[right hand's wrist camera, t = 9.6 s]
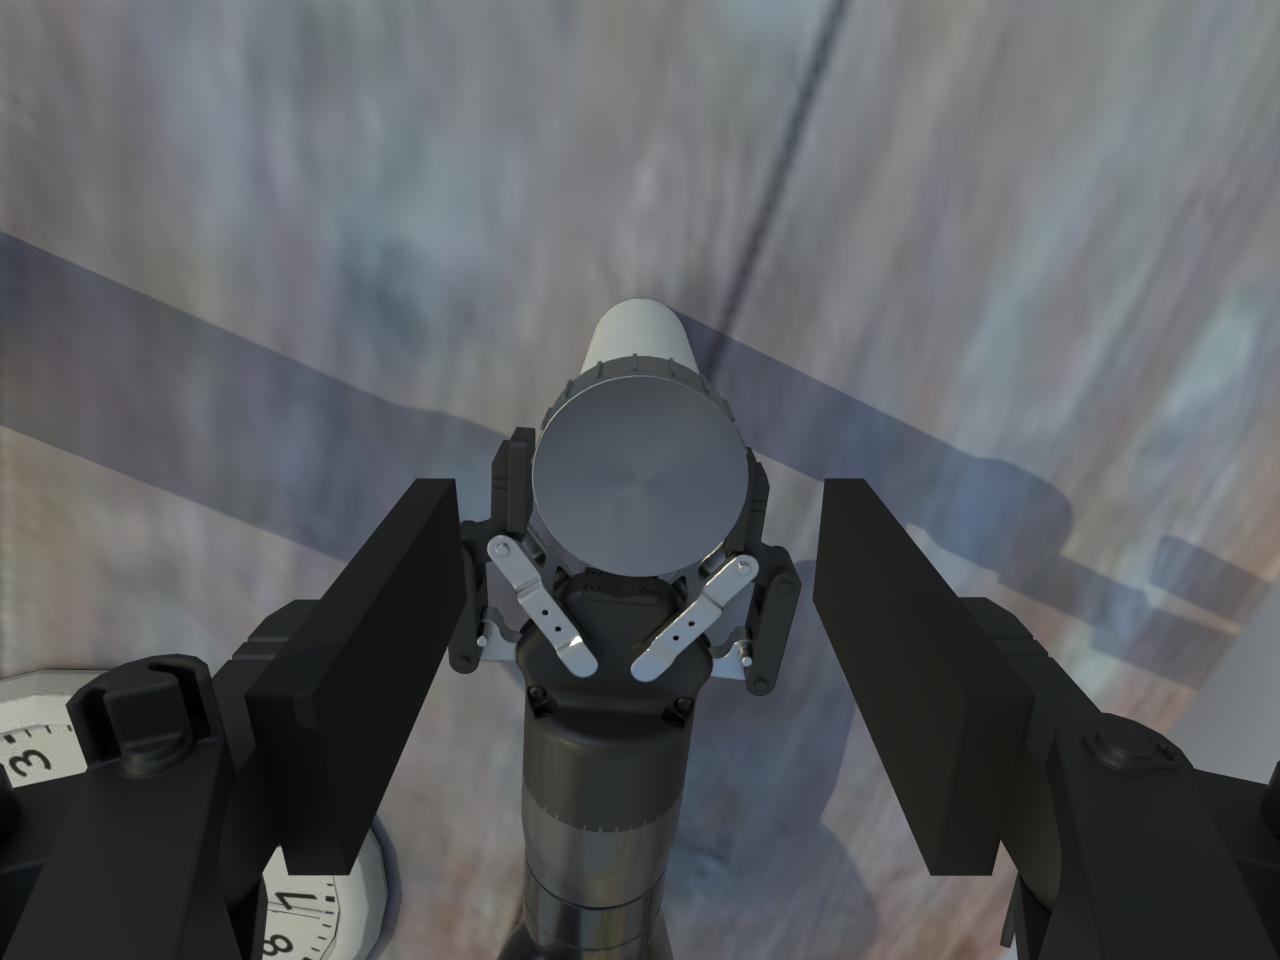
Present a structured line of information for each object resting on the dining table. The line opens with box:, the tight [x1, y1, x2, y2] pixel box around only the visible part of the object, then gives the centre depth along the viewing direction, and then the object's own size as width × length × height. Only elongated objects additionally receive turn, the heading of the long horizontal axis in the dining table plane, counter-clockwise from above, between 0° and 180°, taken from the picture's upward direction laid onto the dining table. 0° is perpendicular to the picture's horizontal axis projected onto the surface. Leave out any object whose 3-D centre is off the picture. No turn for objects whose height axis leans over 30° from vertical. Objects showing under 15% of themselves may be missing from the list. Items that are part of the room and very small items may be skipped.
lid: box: [531, 353, 749, 577], centre depth 18 cm, size 5×5×2 cm
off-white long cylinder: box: [580, 299, 700, 375], centre depth 25 cm, size 4×4×16 cm
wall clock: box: [0, 670, 388, 960], centre depth 44 cm, size 30×2×30 cm
